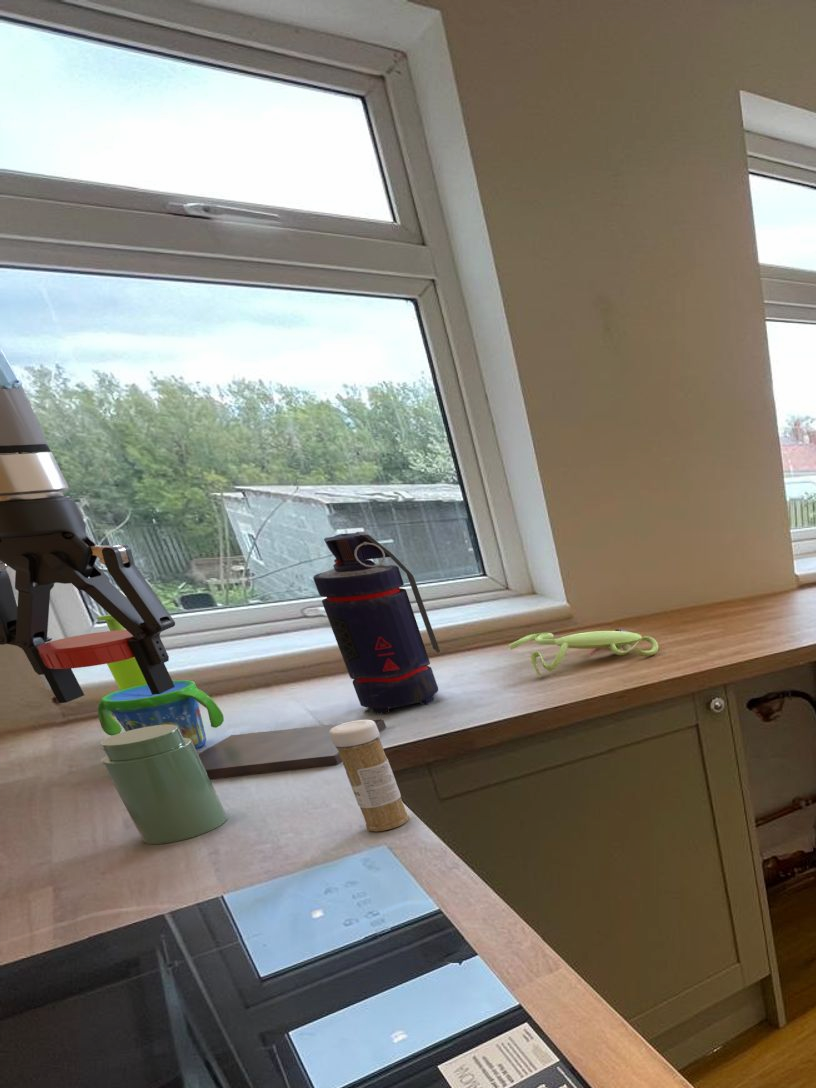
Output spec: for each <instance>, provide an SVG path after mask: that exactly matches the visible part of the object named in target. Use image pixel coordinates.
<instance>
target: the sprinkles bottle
mask: <svg viewBox="0 0 816 1088" xmlns="http://www.w3.org/2000/svg"><path fill="white" fill-rule="evenodd" d="M372 720H373V719H358V720H351V721H347V722H343V724H342V723H339V724H340V725H337V726H335V727H333V728H332V729H331V730H330V731H329V734H330V737H331V740H332V742H333V744H334V745H335V746H336V748H337V749H338V752H339V755H340V757H341V759H342V762H341V763H342V765H343V767H344V770H345V774H346V777H347V779H348V782H349V784H350V787H351V789H352V792H353V795H354V797H355V800H356V802H357V805H358V807H359V808H360V811H361V814H362V816H363V819H364V822H365V827H366V829H367V830H368V831H370V832H383V831H387V830H392V829H394V828H398V827H400V826H402V825H404V824H406V823H407V822H408V821H409V819H410V814H409V813H408V812H407V811H406V807H405V805H404V803H403V799H402V796H401V792H400V789H399V786H398V783H397V781H396V778H395V775H394V772H393V770H392V766H391V764H390V761H389V759H388V757H387V755H386V753H385V750H384V747H383V745H382V741H381V737H380V735H381V734H380V733H381V732H379V731H378V728H377V726H376V723H375V722H374V721H372Z"/></svg>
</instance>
